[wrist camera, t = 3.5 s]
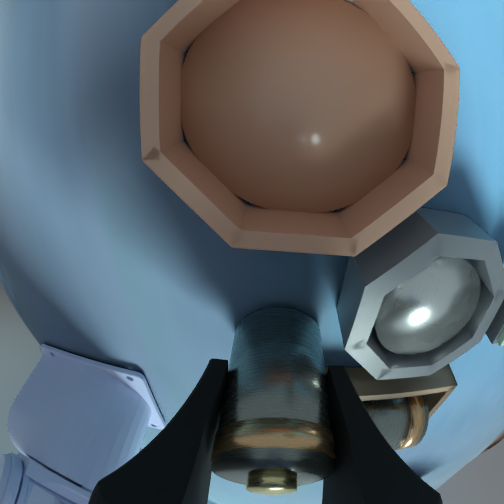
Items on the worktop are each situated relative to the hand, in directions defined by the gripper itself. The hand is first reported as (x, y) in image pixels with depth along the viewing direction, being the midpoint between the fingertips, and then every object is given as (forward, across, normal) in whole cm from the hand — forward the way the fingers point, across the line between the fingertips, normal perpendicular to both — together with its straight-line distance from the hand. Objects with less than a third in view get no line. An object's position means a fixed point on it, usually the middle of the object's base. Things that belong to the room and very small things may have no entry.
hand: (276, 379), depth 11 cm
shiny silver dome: (+2, -6, -3) cm, 7 cm away
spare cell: (+3, -6, +6) cm, 9 cm away
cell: (+2, 0, 0) cm, 2 cm away
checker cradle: (+3, -6, -3) cm, 7 cm away
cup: (+3, 0, -10) cm, 10 cm away
